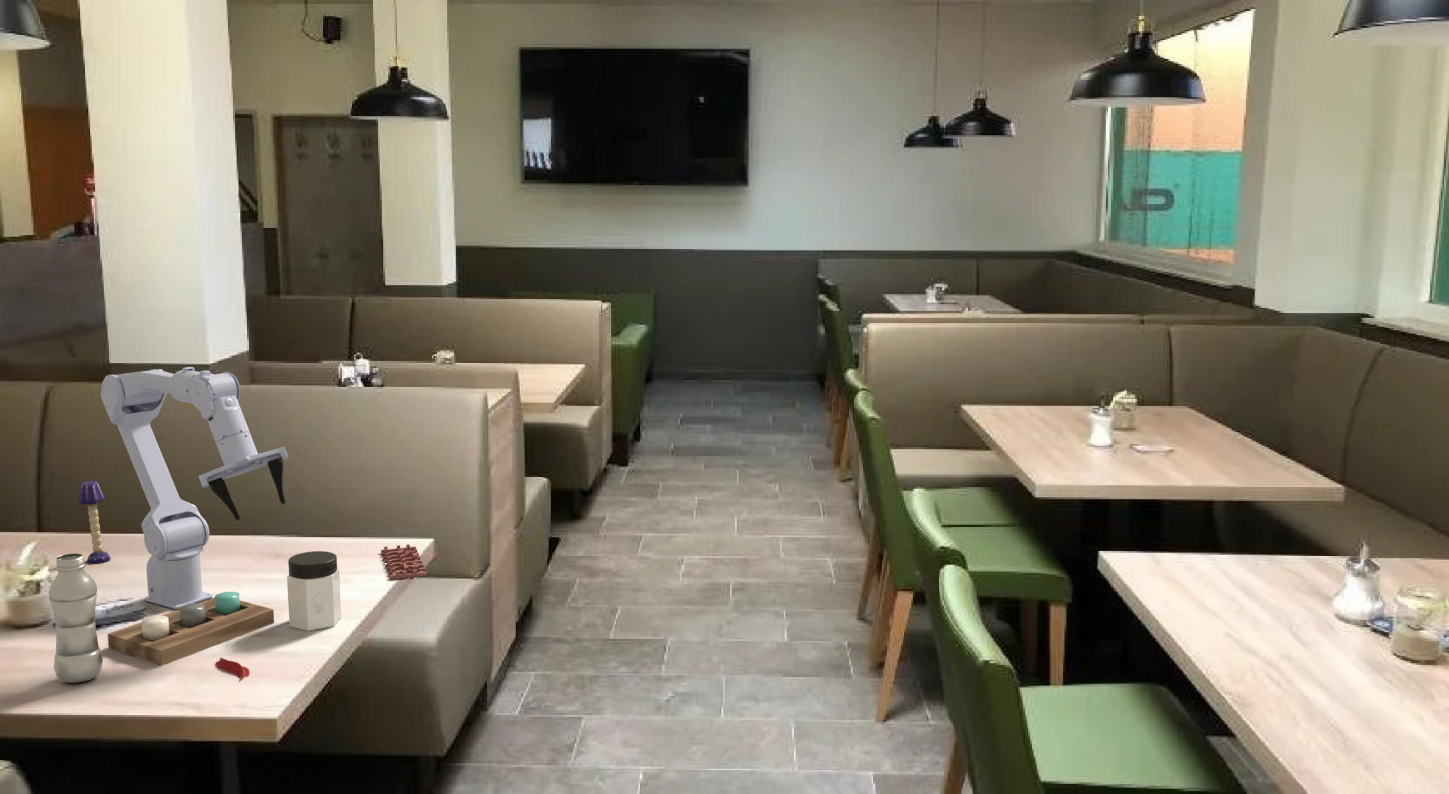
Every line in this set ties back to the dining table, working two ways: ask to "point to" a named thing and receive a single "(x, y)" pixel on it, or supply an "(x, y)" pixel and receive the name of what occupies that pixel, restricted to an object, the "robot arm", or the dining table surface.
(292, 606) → the jar
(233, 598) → the teal rounded piece
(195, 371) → the robot arm
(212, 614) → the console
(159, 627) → the ivory key
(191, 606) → the graphite key
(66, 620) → the plastic bottle
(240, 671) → the cayenne pepper
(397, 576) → the brown woven panel
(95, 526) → the toy lamp
